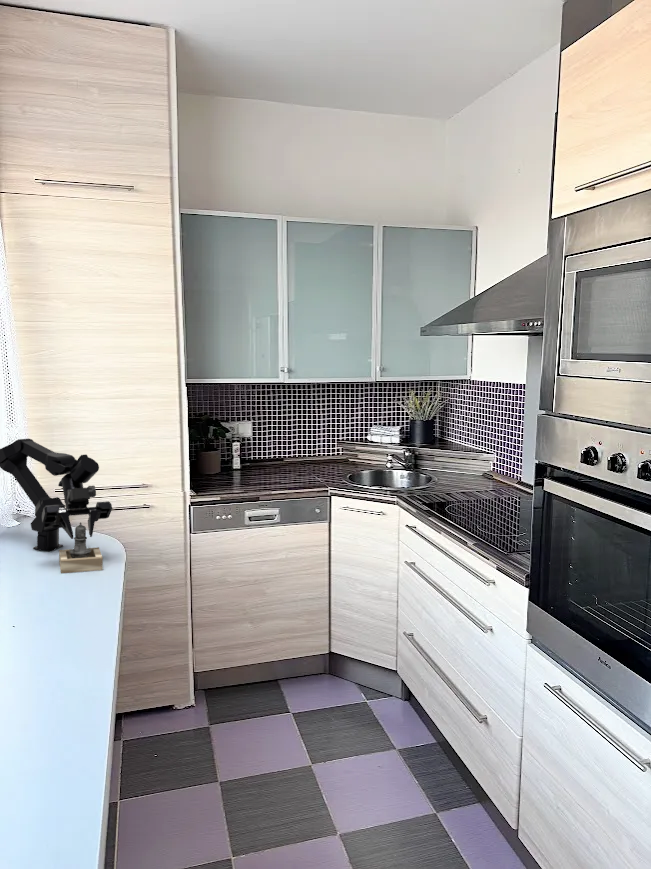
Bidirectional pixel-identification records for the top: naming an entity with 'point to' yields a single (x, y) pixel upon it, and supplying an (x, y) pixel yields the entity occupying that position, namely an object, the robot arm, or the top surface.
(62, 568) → the shaker caddy
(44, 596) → the top surface
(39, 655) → the top surface
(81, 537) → the weathered stone finial
